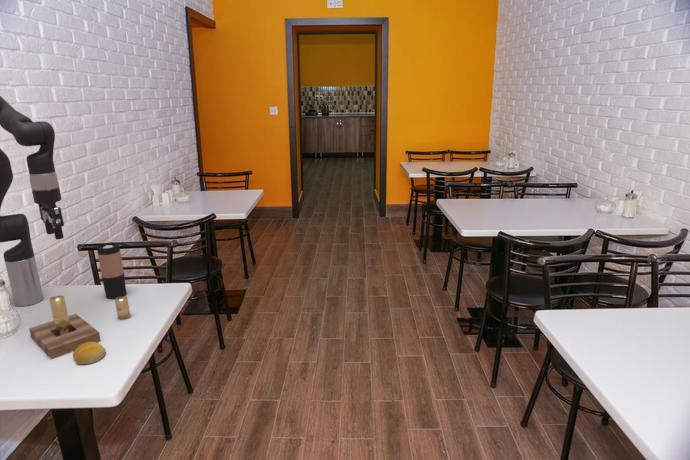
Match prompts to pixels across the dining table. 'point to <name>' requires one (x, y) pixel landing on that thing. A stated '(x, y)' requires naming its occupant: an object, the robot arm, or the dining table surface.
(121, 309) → the short pin
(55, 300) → the tall pin
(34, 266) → the robot arm
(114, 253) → the travel mug
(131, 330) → the dining table surface
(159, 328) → the dining table surface
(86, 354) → the bread roll
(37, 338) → the hole board
